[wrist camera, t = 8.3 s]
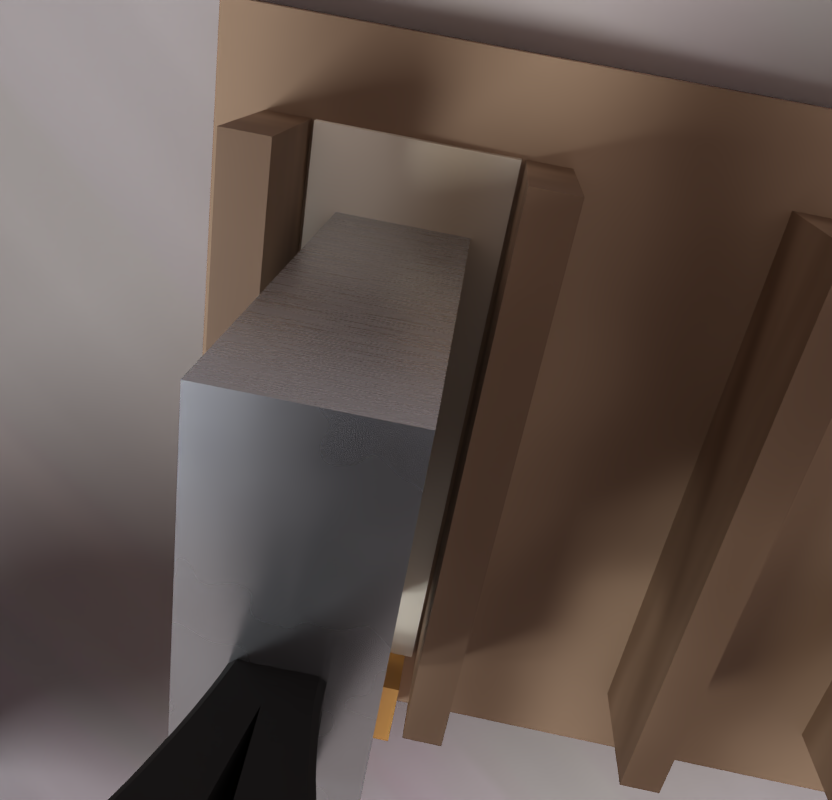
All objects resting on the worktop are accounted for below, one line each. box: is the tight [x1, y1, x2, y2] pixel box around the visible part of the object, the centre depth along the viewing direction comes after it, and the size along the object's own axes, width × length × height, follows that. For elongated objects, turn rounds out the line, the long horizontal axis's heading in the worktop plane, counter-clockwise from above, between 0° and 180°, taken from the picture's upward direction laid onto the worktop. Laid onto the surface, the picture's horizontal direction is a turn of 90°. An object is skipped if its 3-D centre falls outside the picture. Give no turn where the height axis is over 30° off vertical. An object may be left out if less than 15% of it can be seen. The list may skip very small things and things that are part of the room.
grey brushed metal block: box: [168, 212, 471, 800], centre depth 15 cm, size 3×10×9 cm, turn 170°
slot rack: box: [203, 0, 832, 800], centre depth 18 cm, size 20×18×4 cm
